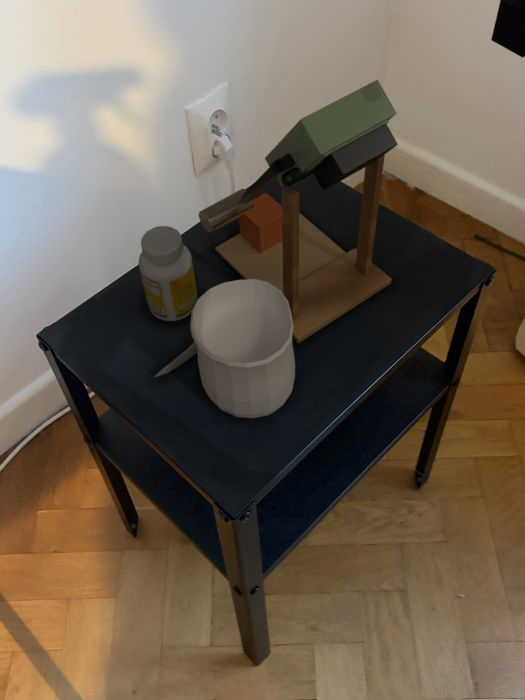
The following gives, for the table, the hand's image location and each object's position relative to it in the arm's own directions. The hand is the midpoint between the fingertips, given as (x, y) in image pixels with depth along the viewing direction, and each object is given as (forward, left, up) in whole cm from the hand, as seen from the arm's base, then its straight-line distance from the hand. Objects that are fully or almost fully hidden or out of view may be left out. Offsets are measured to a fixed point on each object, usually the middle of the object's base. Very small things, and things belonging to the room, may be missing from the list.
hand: (514, 44), depth 48 cm
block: (+25, +5, -30) cm, 39 cm away
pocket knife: (+14, +19, -33) cm, 40 cm away
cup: (+8, +18, -33) cm, 38 cm away
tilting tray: (+11, +7, -17) cm, 22 cm away
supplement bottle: (+21, +18, -33) cm, 43 cm away
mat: (+20, +5, -32) cm, 38 cm away
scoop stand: (+11, +5, -32) cm, 35 cm away
